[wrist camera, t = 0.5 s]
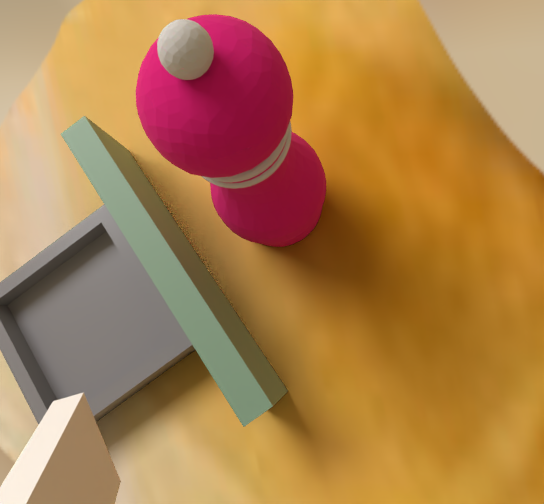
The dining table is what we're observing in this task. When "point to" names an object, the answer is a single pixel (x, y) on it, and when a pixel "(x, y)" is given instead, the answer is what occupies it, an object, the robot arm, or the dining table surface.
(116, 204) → the board
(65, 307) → the tray
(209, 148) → the pepper mill
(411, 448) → the dining table surface
